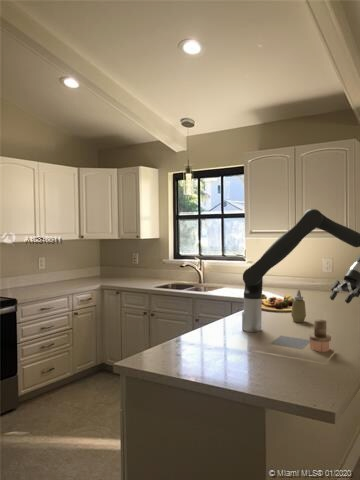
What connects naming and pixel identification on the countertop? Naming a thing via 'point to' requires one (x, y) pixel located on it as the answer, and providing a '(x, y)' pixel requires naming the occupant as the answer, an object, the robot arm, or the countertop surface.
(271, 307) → the wooden plate with food
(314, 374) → the countertop surface
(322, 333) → the walnut lid
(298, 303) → the squeeze bottle
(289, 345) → the rubber mat
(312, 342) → the terracotta bowl
